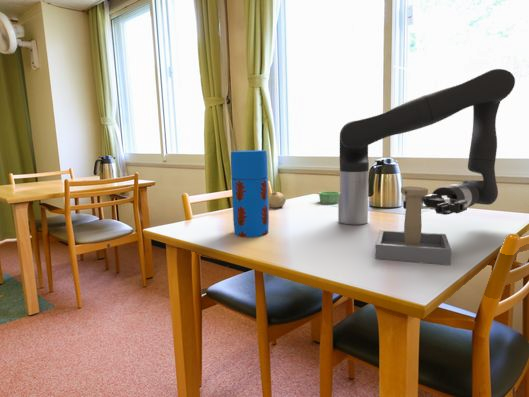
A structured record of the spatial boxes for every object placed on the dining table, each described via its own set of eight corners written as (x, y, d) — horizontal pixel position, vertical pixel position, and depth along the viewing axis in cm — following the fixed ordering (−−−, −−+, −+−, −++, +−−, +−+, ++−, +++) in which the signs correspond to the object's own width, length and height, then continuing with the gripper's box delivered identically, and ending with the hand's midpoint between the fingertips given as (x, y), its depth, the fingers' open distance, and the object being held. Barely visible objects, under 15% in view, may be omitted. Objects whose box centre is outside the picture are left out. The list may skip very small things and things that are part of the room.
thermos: (256, 239, 109) (253, 152, 105) (226, 234, 115) (223, 152, 111) (275, 230, 118) (273, 150, 114) (247, 227, 124) (244, 150, 120)
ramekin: (342, 201, 166) (342, 191, 165) (335, 205, 158) (335, 194, 158) (323, 200, 171) (323, 190, 170) (315, 203, 163) (315, 193, 162)
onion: (264, 206, 159) (264, 189, 158) (282, 205, 161) (282, 188, 160) (269, 210, 152) (268, 192, 151) (288, 208, 154) (287, 191, 152)
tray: (375, 258, 89) (375, 244, 89) (379, 242, 102) (379, 230, 102) (450, 265, 84) (451, 249, 83) (444, 247, 97) (445, 234, 96)
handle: (413, 253, 89) (415, 190, 87) (395, 246, 95) (396, 187, 92) (429, 250, 91) (432, 189, 88) (410, 243, 97) (412, 185, 94)
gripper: (427, 183, 108) (395, 189, 98) (480, 187, 97) (450, 195, 87) (425, 208, 110) (394, 217, 100) (478, 216, 99) (448, 226, 89)
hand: (420, 207), depth 94 cm, fingers open, 8 cm apart
